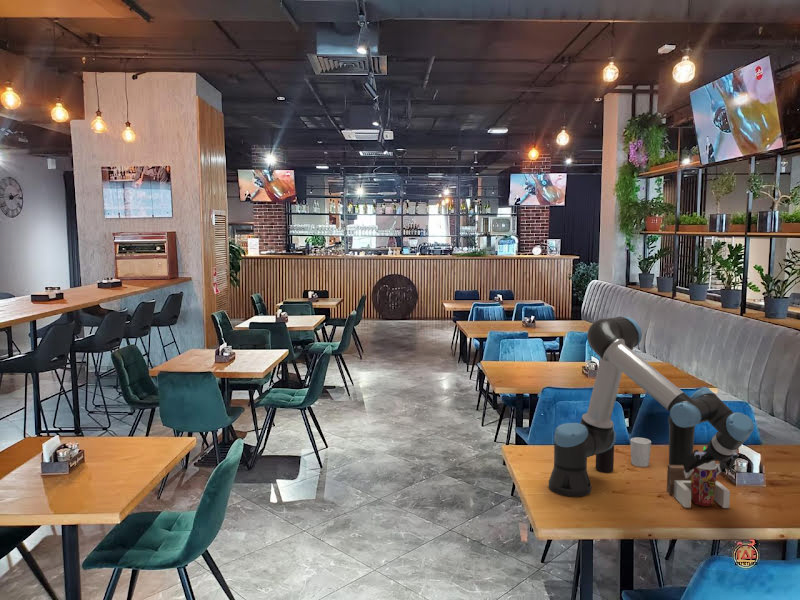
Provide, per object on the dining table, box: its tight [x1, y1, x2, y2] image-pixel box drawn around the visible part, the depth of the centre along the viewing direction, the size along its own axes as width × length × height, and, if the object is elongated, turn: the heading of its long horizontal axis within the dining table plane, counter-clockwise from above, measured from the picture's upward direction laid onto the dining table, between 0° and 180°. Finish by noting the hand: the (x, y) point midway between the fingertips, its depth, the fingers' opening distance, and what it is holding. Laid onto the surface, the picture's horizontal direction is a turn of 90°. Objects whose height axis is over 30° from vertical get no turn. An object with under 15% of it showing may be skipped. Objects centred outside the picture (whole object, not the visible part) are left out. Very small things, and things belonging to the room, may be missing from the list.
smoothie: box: [691, 446, 718, 507], centre depth 210 cm, size 8×8×20 cm
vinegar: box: [595, 444, 615, 474], centre depth 242 cm, size 7×7×20 cm
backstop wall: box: [666, 464, 691, 496], centre depth 220 cm, size 3×16×10 cm, turn 88°
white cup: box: [630, 437, 652, 468], centre depth 249 cm, size 8×8×10 cm
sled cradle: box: [673, 480, 731, 509], centre depth 212 cm, size 9×15×6 cm, turn 88°
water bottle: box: [667, 415, 696, 465], centre depth 246 cm, size 10×10×23 cm
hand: (698, 474), depth 214 cm, fingers closed on smoothie, 8 cm apart
